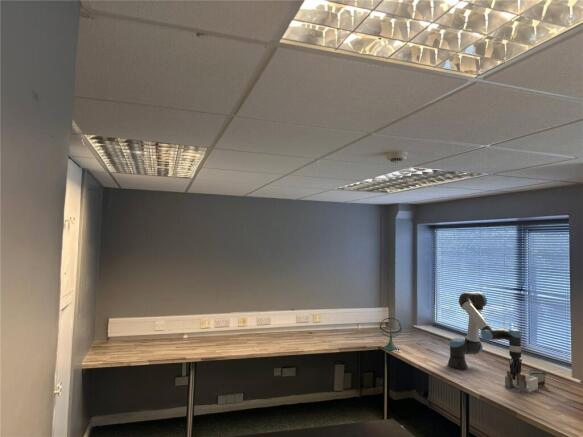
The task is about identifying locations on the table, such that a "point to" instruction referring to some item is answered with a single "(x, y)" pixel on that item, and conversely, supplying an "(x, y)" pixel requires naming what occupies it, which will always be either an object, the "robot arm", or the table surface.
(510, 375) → the door
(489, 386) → the table surface
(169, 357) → the table surface
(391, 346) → the armillary sphere
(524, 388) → the carcass
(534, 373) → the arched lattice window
